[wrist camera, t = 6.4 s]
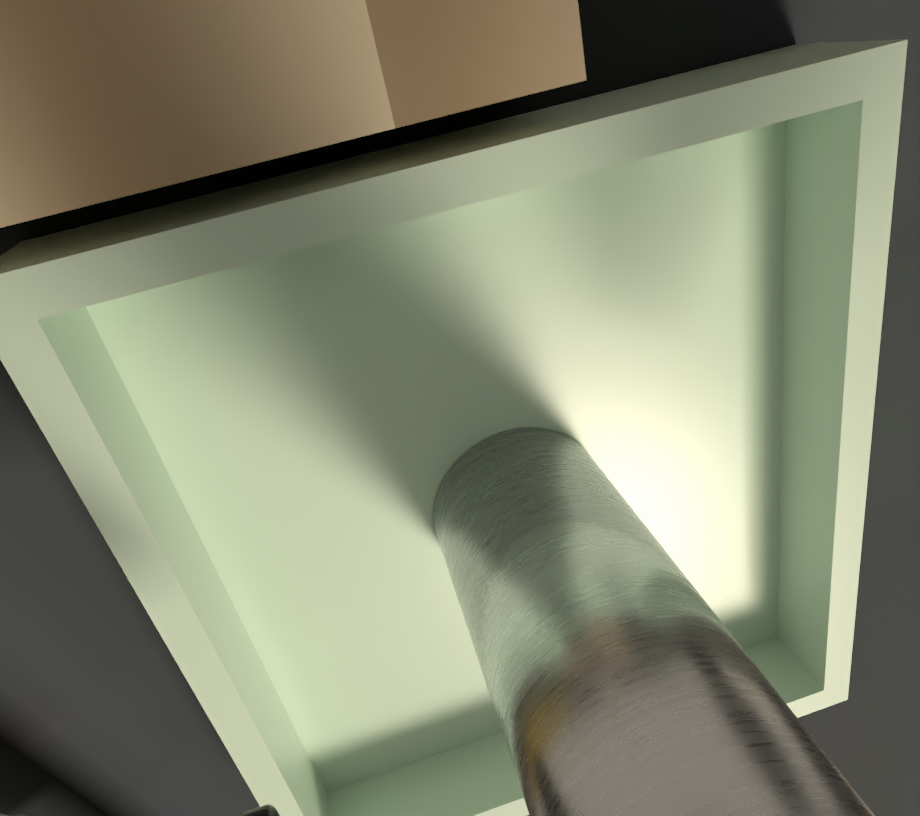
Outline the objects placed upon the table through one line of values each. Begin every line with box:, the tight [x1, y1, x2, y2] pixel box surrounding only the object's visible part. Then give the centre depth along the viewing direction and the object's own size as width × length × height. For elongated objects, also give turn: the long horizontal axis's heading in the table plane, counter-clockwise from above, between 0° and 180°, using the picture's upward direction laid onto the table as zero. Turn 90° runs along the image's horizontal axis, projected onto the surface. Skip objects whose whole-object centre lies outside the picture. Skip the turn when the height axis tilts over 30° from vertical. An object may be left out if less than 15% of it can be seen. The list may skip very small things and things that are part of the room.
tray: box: [0, 39, 908, 816], centre depth 12 cm, size 12×13×2 cm
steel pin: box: [433, 427, 874, 816], centre depth 9 cm, size 4×4×9 cm
